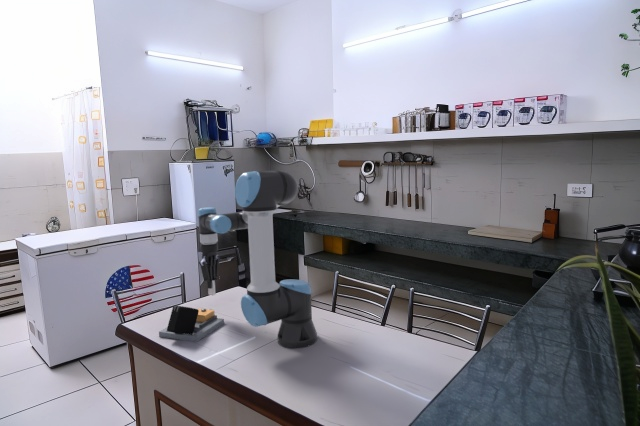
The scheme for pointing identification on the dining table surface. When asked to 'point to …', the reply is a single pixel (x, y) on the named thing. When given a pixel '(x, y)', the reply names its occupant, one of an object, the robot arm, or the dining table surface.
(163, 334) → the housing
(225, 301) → the dining table surface
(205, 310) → the orange block with knob
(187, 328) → the electronic device
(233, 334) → the dining table surface
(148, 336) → the dining table surface
